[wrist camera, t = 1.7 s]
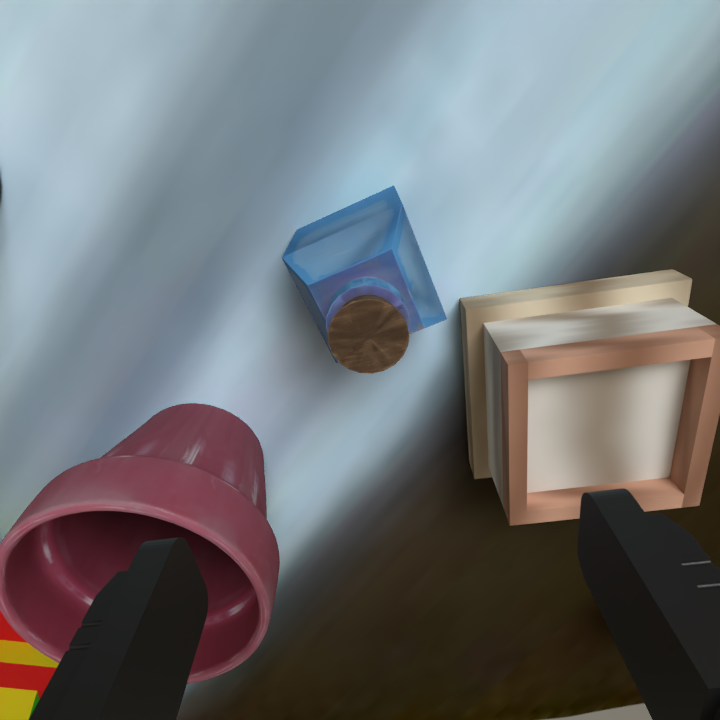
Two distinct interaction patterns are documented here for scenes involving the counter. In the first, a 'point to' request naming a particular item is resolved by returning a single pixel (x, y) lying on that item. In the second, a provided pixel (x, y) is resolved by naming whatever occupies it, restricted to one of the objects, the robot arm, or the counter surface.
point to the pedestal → (591, 393)
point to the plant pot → (150, 533)
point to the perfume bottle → (364, 281)
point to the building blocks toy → (21, 674)
